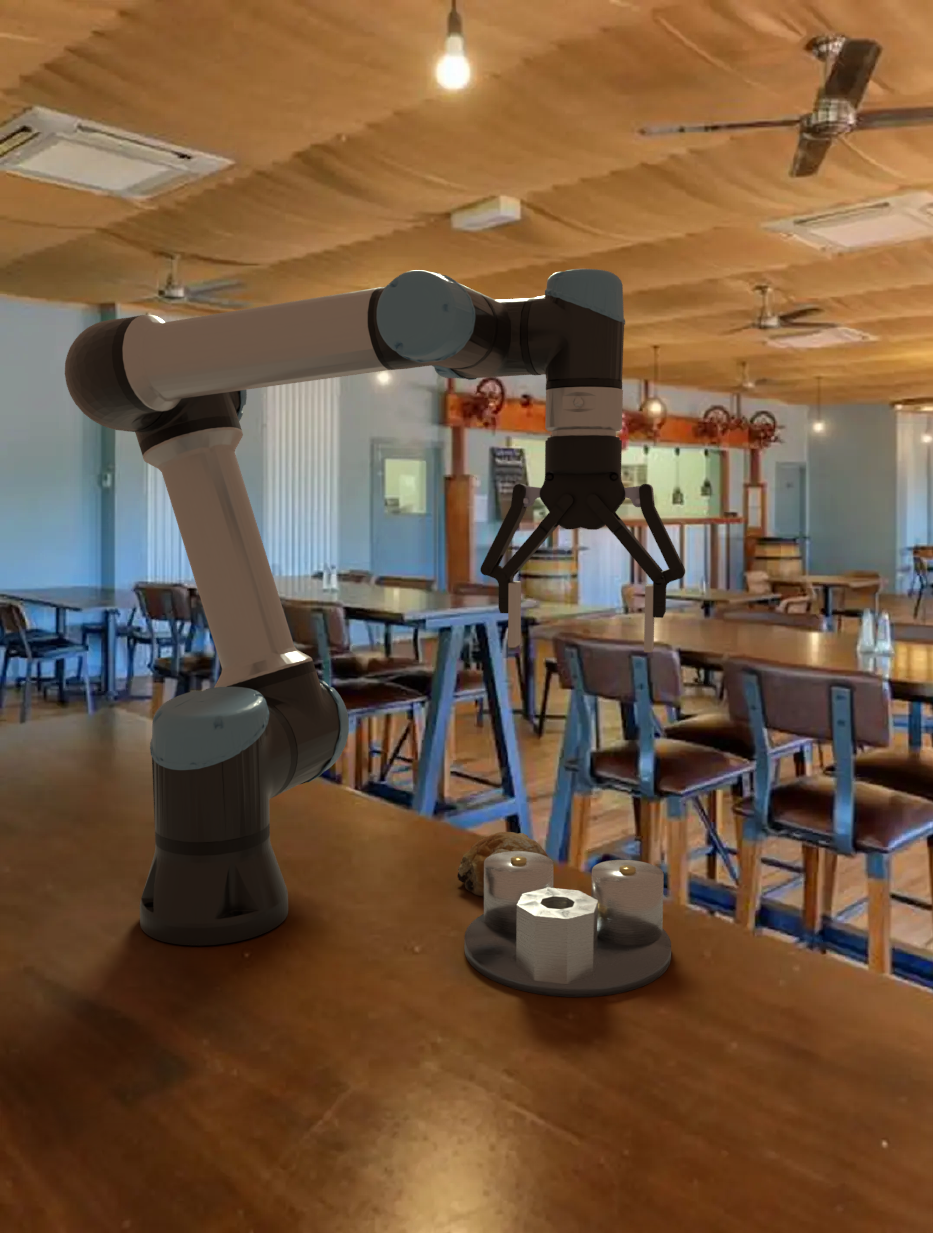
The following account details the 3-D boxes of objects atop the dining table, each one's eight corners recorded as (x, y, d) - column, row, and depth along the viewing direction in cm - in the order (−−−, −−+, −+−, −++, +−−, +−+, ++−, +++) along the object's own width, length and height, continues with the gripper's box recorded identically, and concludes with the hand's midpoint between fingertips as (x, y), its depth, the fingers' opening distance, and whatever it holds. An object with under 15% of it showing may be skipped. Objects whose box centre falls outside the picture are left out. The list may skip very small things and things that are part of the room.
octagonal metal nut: (526, 946, 103) (526, 885, 103) (599, 953, 102) (600, 892, 101) (511, 977, 97) (512, 913, 96) (589, 986, 95) (590, 921, 94)
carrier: (441, 982, 98) (440, 902, 97) (489, 902, 118) (489, 834, 117) (664, 1008, 93) (666, 924, 93) (676, 919, 113) (678, 849, 112)
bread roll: (521, 937, 117) (553, 876, 116) (440, 889, 119) (469, 828, 118) (541, 904, 127) (570, 847, 125) (465, 860, 129) (493, 803, 127)
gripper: (451, 434, 106) (451, 648, 108) (712, 431, 100) (706, 658, 102) (469, 437, 113) (469, 638, 115) (714, 435, 107) (708, 647, 110)
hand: (580, 648), depth 109 cm, fingers open, 13 cm apart
